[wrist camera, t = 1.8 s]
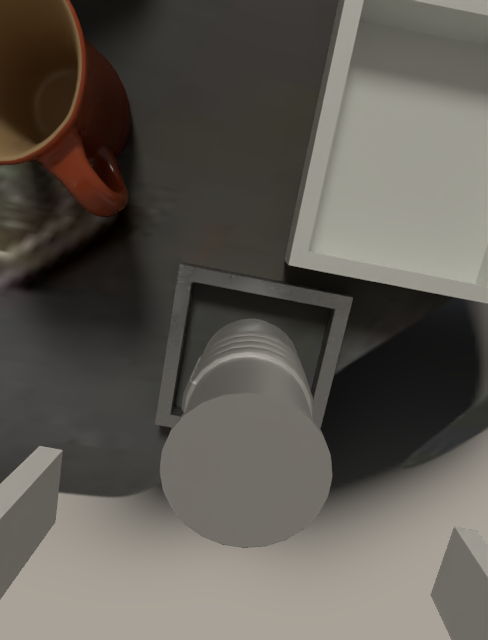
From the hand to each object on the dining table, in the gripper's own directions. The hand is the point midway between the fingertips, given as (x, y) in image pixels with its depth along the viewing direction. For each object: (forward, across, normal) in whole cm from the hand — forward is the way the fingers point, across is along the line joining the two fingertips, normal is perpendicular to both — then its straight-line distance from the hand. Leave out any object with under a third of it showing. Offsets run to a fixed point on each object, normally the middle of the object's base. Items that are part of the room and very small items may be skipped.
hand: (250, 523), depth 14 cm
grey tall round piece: (+18, 0, 0) cm, 18 cm away
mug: (+18, -14, +13) cm, 26 cm away
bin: (+18, +8, +16) cm, 25 cm away
